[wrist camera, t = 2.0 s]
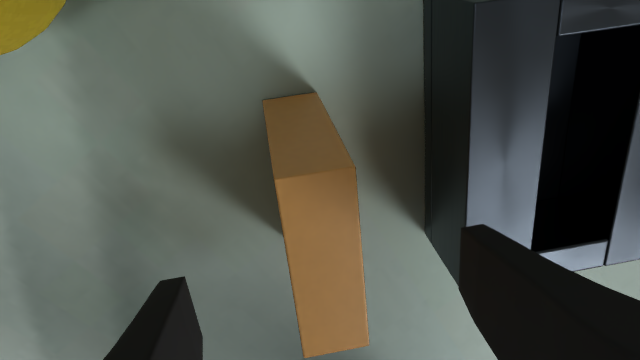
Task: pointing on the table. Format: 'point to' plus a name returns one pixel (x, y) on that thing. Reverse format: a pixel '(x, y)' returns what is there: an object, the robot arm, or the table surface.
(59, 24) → the table surface
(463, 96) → the toaster
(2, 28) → the lemon
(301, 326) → the toast
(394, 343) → the table surface
